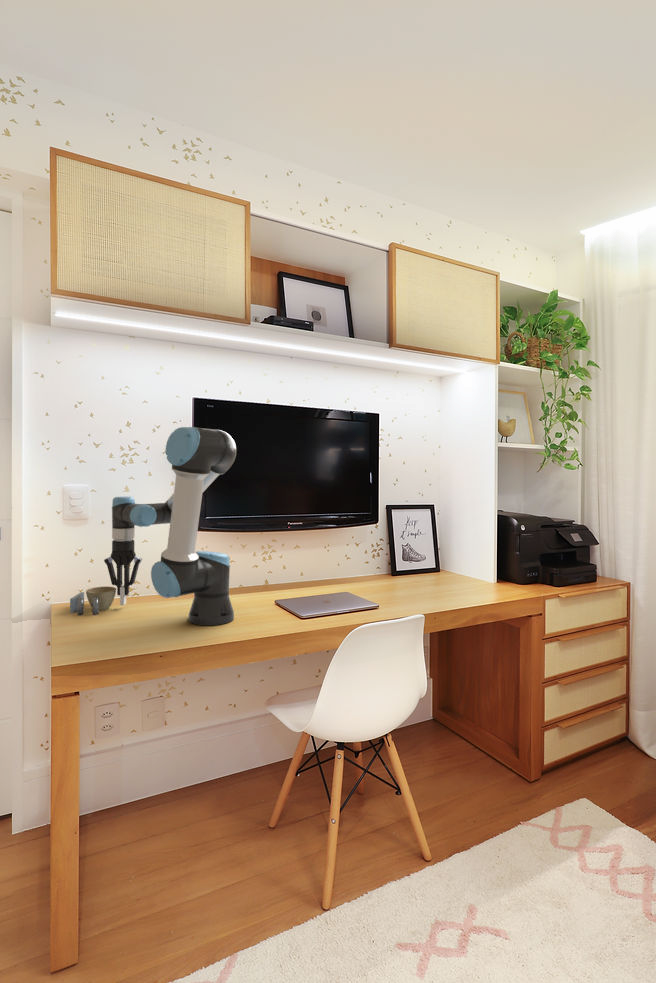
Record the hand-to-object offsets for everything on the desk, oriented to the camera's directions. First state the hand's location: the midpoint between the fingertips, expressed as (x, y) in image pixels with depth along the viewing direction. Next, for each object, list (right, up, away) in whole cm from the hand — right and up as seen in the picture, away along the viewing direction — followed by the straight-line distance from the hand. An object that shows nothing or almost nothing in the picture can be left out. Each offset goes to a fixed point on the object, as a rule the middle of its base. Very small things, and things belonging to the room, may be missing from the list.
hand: (123, 604), depth 190 cm
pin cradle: (-11, -2, -2) cm, 11 cm away
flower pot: (-7, -2, -1) cm, 8 cm away
